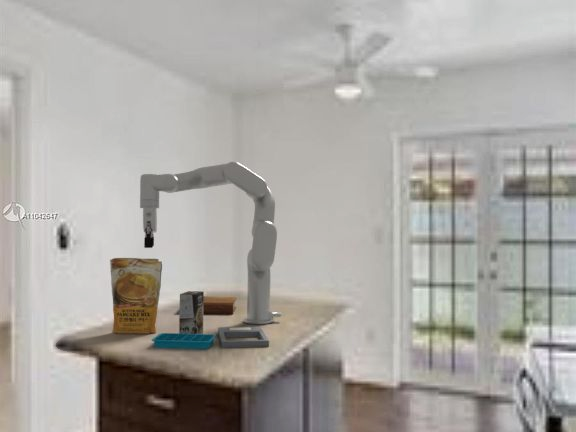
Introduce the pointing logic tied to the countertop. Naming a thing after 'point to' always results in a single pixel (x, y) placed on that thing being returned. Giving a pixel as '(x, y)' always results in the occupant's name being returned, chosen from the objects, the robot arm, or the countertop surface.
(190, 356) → the countertop surface
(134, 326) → the pancake mix bag
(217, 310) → the diary
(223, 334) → the grey plastic frame
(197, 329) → the coffee box
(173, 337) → the ice cube tray
